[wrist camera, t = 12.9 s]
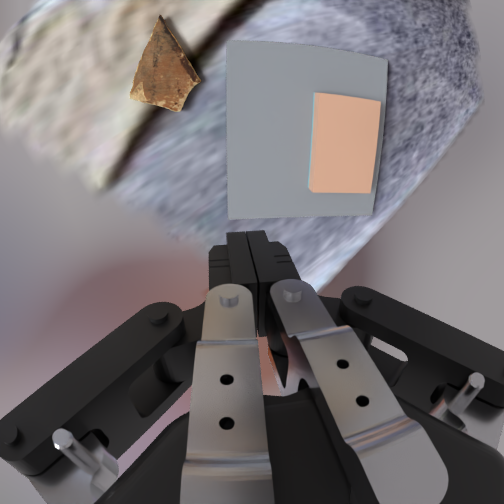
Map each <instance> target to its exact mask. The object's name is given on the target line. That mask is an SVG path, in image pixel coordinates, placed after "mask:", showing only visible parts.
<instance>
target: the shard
mask: <svg viewBox="0 0 504 504" xmlns="http://www.w3.org/2000/svg"><path fill="white" fill-rule="evenodd" d="M200 82H201V80H200V78H199V77H198V75H197V74H196V73H195V70H194V69H193V67H192V65H191V63H190V62H189V60H188V59H187V57H186V56H185V54H184V52H183V50H182V48H181V46H180V45H179V43H178V41H177V40H176V38H175V36H174V35H173V34H172V33H171V31H170V30H169V29H168V27H167V25H166V24H165V20H164V19H163V17H162V16H161V15H159V18H158V20H157V23H156V24H155V27H154V29H153V32H152V35H151V38H150V40H149V42H148V44H147V46H146V48H145V50H144V52H143V54H142V57H141V60H140V62H139V64H138V67H137V71H136V73H135V76H134V80H133V87H132V89H131V92H130V99H133V100H137V101H140V102H143V103H148V104H153V105H157V106H161V107H165V108H167V109H170V110H172V111H175V112H180V111H181V109H182V107H183V104H184V102H185V100H186V98H187V96H188V94H189V92H190V91H191V90H192V88H193V87H194V86H195V85H197V84H198V83H200Z"/></svg>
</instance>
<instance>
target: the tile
mask: <svg viewBox="0 0 504 504" xmlns="http://www.w3.org/2000/svg"><path fill="white" fill-rule="evenodd" d="M380 107H381V102H380V101H375V100H369V99H363V98H357V97H350V96H343V95H335V94H327V93H314V97H313V117H312V134H311V150H310V164H309V177H308V188H309V189H310V190H311V191H312V192H313V193H370V192H371V186H372V179H373V172H374V165H375V157H376V148H377V139H378V130H379V119H380Z"/></svg>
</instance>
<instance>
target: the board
mask: <svg viewBox="0 0 504 504" xmlns="http://www.w3.org/2000/svg"><path fill="white" fill-rule="evenodd" d="M387 68H388V60H386V59H382V58H378V57H374V56H369V55H365V54H360V53H355V52H350V51H344V50H339V49H332V48H326V47H319V46H311V45H303V44H293V43H282V42H266V41H227V42H226V150H227V208H228V220H234V219H257V218H284V217H319V216H372V211H373V206H374V200H375V193H376V187H377V180H378V173H379V166H380V158H381V149H382V140H383V130H384V119H385V107H386V91H387ZM314 93H327V94H335V95H343V96H350V97H357V98H363V99H369V100H375V101H380V102H381V107H380V119H379V130H378V139H377V148H376V157H375V165H374V172H373V179H372V186H371V192H370V193H313V192H312V191H311V190H310V189H309V188H308V177H309V164H310V150H311V134H312V117H313V97H314Z"/></svg>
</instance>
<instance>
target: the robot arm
mask: <svg viewBox="0 0 504 504" xmlns="http://www.w3.org/2000/svg"><path fill="white" fill-rule="evenodd" d="M226 237H227V245H216V246H213V248H212V249H211V250H210V252H209V292H208V293H207V295H206V300H205V301H204V302H203V303H202V304H201V305H199V306H197V307H195V308H193V309H189V310H186V311H182V310H181V309H180V308H179V307H178V306H177V305H175V304H172V303H169V302H157V303H153V304H150V305H148V306H146V307H145V308H143V309H141V310H140V311H139V312H138V313H136V314H135V315H134V316H132V317H131V318H130V319H128V320H127V321H126V322H124V323H123V324H122V325H121V326H119V327H118V328H116V329H115V330H114V331H113V332H111V333H110V334H109V335H107V336H106V337H105V338H104V339H102V340H101V341H99V342H98V343H97V344H95V345H94V346H93V347H92V348H90V349H89V350H88V351H87V352H85V353H84V354H83V355H81V356H80V357H79V358H77V359H76V360H75V361H73V362H72V363H71V364H70V365H68V366H67V367H66V368H65V369H63V370H62V371H61V372H59V373H58V374H57V375H56V376H54V377H53V378H52V379H51V380H49V381H48V382H47V383H45V384H44V385H43V386H42V387H40V388H39V389H38V390H37V391H35V392H34V393H33V394H32V395H30V396H29V397H28V398H27V399H25V400H24V401H23V402H22V403H21V404H19V405H18V406H17V407H15V408H14V409H13V410H12V411H11V412H9V413H8V414H7V415H6V416H4V417H3V418H2V419H1V420H0V457H1V458H2V459H4V460H5V461H6V462H8V463H9V464H10V465H12V466H13V467H14V468H16V469H17V471H18V472H20V473H21V474H22V475H24V476H25V477H27V478H28V479H29V480H30V482H31V483H32V485H33V486H34V487H35V489H36V490H37V491H38V493H39V494H40V495H41V497H42V498H43V499H44V501H45V502H46V503H47V504H504V457H503V456H502V455H501V454H500V453H499V452H498V451H497V447H498V443H499V439H500V436H501V432H502V428H503V424H504V351H502V350H500V349H498V348H496V347H494V346H492V345H490V344H488V343H485V342H484V341H482V340H480V339H477V338H475V337H473V336H471V335H469V334H467V333H465V332H463V331H461V330H459V329H457V328H454V327H452V326H450V325H448V324H446V323H444V322H442V321H440V320H437V319H435V318H433V317H431V316H429V315H427V314H425V313H422V312H420V311H418V310H416V309H414V308H411V307H409V306H407V305H405V304H403V303H401V302H399V301H397V300H394V299H392V298H390V297H388V296H386V295H384V294H381V293H379V292H377V291H375V290H373V289H370V288H367V287H362V286H354V287H350V288H347V289H346V290H344V291H343V293H342V295H341V299H340V298H331V297H323V296H319V295H317V293H316V292H315V290H314V289H313V287H312V286H311V285H310V284H308V283H306V282H304V281H302V280H301V278H300V276H299V274H298V272H297V270H296V267H295V265H294V263H293V262H292V259H291V257H290V254H289V252H288V250H287V248H286V247H285V246H284V245H282V244H281V243H280V242H278V241H277V242H269V241H268V238H267V236H266V233H265V231H264V230H260V231H246V234H245V231H244V232H228V233H226ZM257 330H258V335H259V337H264V336H267V340H268V356H269V359H270V362H271V365H272V368H273V371H274V374H275V377H276V380H277V383H278V386H279V389H280V392H281V396H270V395H263V391H262V380H261V370H260V359H259V348H258V340H257V339H256V337H257ZM373 336H374V337H376V338H378V339H380V340H382V341H384V342H386V343H388V344H390V345H392V346H394V347H395V348H397V349H399V350H402V351H403V352H404V353H405V354H406V355H407V358H408V361H405V362H404V361H400V360H399V359H397V358H395V357H393V356H391V355H389V354H387V353H385V352H383V351H381V350H379V349H377V348H376V347H374V346H372V345H371V342H372V339H373ZM191 385H192V392H191V403H190V411H189V412H188V413H186V414H184V415H182V416H180V417H179V418H177V419H175V420H174V421H173V422H171V424H169V425H168V426H167V427H166V428H165V429H164V430H163V431H162V432H161V433H160V434H159V435H158V436H157V437H156V439H155V440H154V441H153V442H152V443H151V444H150V445H149V446H148V447H147V449H146V450H145V451H144V452H143V453H142V454H141V455H140V456H139V457H138V458H137V459H136V460H135V461H134V463H133V464H132V465H131V466H130V467H129V468H128V469H127V470H126V471H125V472H124V473H123V474H122V475H121V476H120V477H119V478H118V479H117V477H118V473H119V468H118V463H117V459H118V458H119V457H120V456H121V455H122V454H123V453H125V451H127V449H129V448H130V447H131V445H133V444H134V443H135V442H136V441H137V440H138V439H139V438H140V437H141V436H142V435H143V434H144V433H145V432H146V431H147V430H148V429H149V428H150V427H151V426H152V425H153V424H154V423H155V422H156V421H157V420H158V419H159V418H160V417H161V416H162V415H163V414H164V413H165V412H166V411H167V410H168V409H169V408H170V407H171V406H172V405H173V404H174V403H175V402H176V401H177V400H178V398H180V397H181V396H182V395H183V393H184V392H185V391H186V390H187V389H188V388H189V387H190V386H191ZM116 479H117V480H116Z"/></svg>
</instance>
